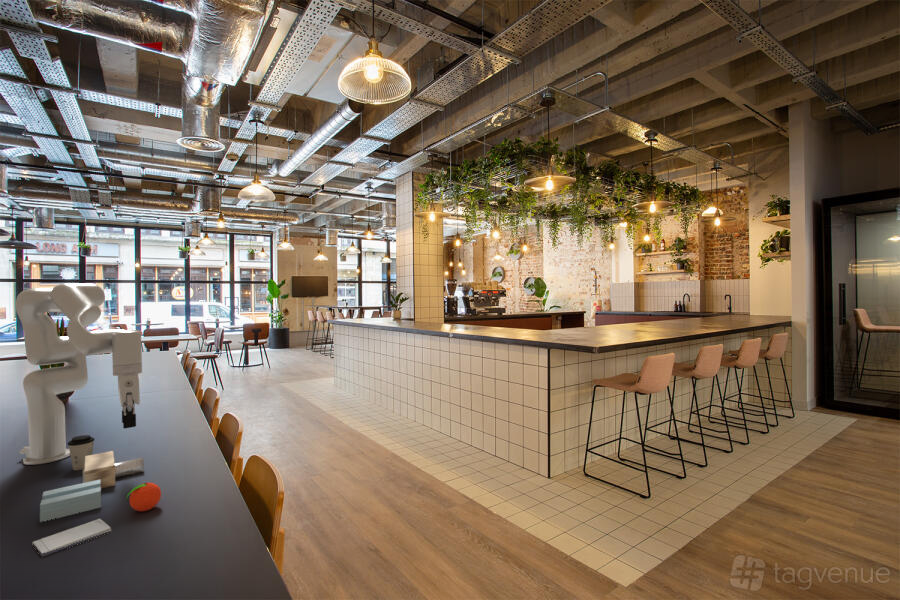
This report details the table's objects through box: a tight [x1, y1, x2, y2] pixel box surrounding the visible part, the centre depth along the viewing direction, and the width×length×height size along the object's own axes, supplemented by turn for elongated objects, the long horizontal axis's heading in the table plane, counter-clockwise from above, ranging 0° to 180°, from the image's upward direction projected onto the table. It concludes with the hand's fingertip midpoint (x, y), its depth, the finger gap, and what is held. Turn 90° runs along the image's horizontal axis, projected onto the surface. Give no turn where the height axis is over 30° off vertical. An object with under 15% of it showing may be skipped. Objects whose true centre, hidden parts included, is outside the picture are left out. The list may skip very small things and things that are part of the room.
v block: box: [39, 480, 102, 523], centre depth 118 cm, size 12×12×4 cm
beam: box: [84, 450, 116, 489], centre depth 135 cm, size 7×16×6 cm, turn 39°
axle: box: [82, 457, 145, 483], centre depth 137 cm, size 15×4×4 cm, turn 129°
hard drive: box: [32, 518, 112, 554], centre depth 102 cm, size 2×8×12 cm
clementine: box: [125, 482, 162, 512], centre depth 115 cm, size 8×7×7 cm
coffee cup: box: [67, 434, 95, 471], centre depth 145 cm, size 7×7×10 cm
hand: (128, 424), depth 139 cm, fingers open, 7 cm apart
